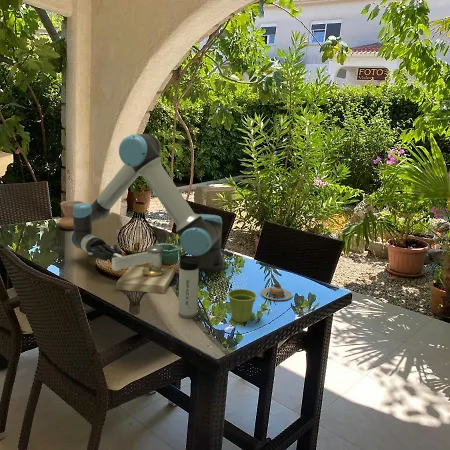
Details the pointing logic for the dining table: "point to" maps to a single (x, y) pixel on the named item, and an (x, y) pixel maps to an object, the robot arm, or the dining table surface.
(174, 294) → the dining table surface
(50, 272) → the dining table surface
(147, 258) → the grey lever handle
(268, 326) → the dining table surface
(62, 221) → the ceramic jug
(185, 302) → the travel mug
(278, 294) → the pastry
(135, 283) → the stand
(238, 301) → the plant pot
